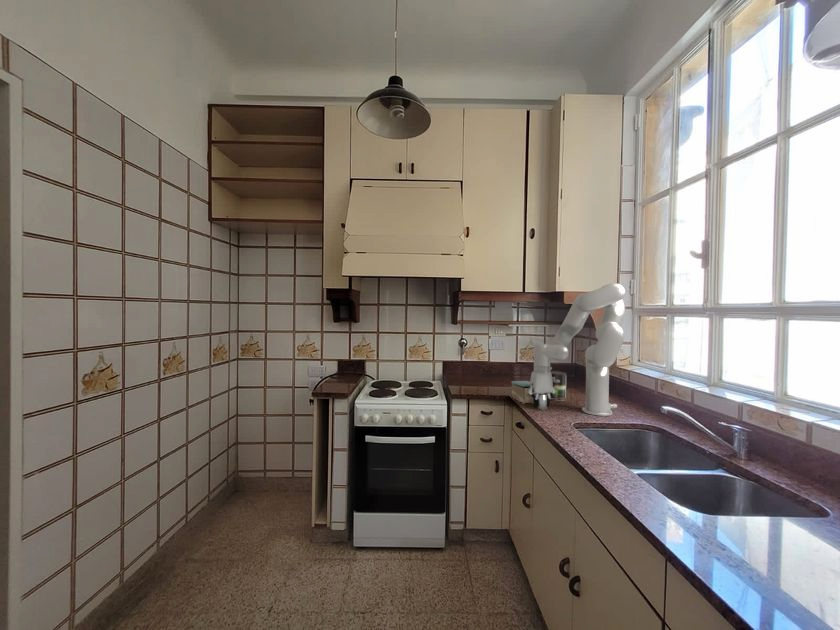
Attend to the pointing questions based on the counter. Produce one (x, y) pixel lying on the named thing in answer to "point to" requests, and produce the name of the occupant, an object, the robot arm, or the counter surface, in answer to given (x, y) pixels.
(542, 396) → the steel weight
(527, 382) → the lid
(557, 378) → the glass terrarium
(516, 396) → the box
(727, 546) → the counter surface
